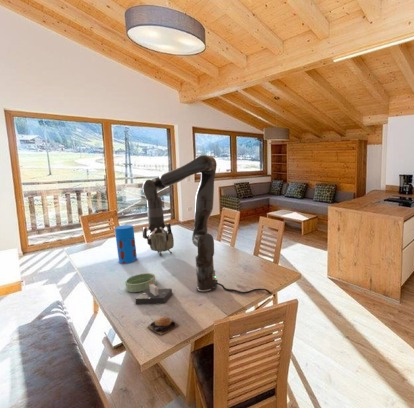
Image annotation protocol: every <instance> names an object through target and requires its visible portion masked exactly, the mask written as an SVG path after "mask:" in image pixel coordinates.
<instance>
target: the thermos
mask: <svg viewBox="0 0 414 408" xmlns="http://www.w3.org/2000/svg"><path fill="white" fill-rule="evenodd" d="M114 235H115V241H116V250H117V255H118V256H117V257H118V262H119V264H123V265H125V264H130V263H134V262H136V261H137V260H138V258H137V247H136V238H135V229H134V226H133V225H132V224H123V225H118V226H116V227H114Z"/></svg>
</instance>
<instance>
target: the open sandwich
mask: <svg viewBox="0 0 414 408" xmlns="http://www.w3.org/2000/svg"><path fill="white" fill-rule="evenodd" d="M176 327H178V325H177V323H176V322H174V321H173V320H172V319H170V318H169V317H166V316H162V317H159V318H157V319H156V320H154V321H152V322H151V323H150V324H149V325H148V327H147V328H149V329H150V330H151V331H153V332H154V333H155V334H159V336H160V335H161V336H163V335H165V334H167V333H169V332H170V331H172V330H174V329H175V328H176Z"/></svg>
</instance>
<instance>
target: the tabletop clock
mask: <svg viewBox="0 0 414 408" xmlns="http://www.w3.org/2000/svg"><path fill="white" fill-rule="evenodd" d="M164 230H165V231H166V232H168V231H167V229H164ZM164 235H165V234H164V233H163V232H161V233H157V234H153V236H152V237H151V238H150V239H151V243H152V245H149V247H150V251H153V252H157V254H159V257H162V256H163V254H162V252H163V253H164V252H167V251H168V252H169V254H171V255H172V254H173V252H172V251H171V249H173V248H174V247H175V245H174V244H175V240H174V234H173V232H172V233H171V234H169V235H168V239H169V240H168V242H165V237H164Z"/></svg>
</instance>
